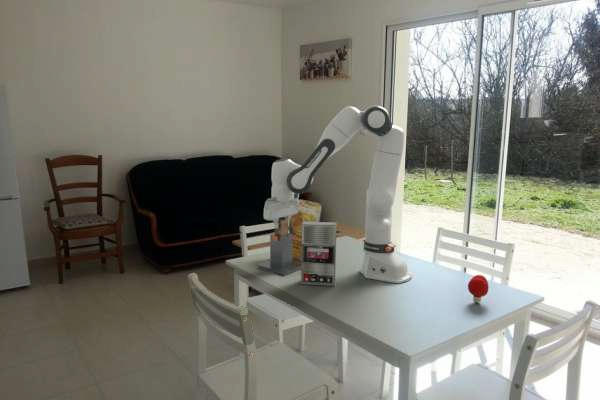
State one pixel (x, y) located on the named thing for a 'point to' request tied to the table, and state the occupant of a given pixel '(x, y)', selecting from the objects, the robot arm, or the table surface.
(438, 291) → the table surface
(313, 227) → the cassette tape recorder
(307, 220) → the pancake mix bag
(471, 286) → the light bulb
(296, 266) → the stand
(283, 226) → the post
